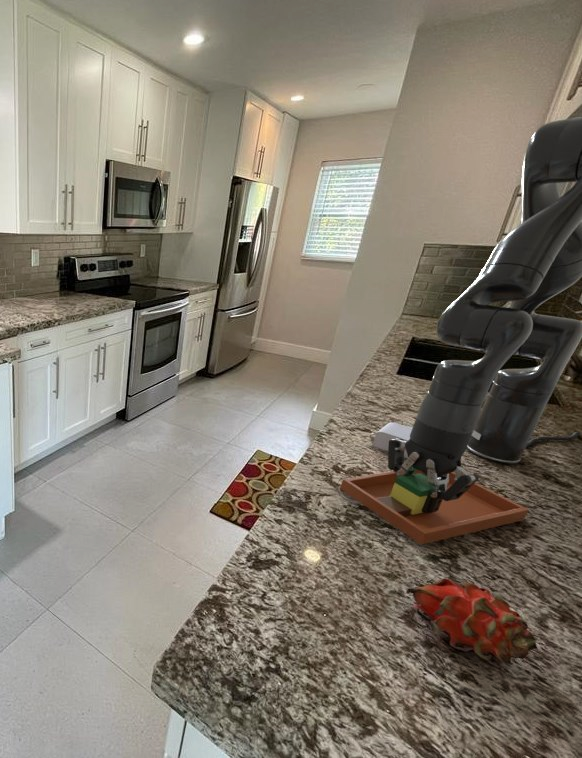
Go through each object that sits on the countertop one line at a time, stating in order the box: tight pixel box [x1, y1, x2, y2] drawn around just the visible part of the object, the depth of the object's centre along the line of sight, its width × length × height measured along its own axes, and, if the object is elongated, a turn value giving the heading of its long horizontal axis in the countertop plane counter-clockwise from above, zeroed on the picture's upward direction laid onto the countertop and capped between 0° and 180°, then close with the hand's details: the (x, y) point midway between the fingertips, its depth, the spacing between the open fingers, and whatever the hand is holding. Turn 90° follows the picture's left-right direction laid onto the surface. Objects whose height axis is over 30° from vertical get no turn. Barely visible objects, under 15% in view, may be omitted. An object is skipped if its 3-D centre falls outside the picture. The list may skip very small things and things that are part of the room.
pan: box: [339, 470, 530, 545], centre depth 78 cm, size 26×16×3 cm, turn 106°
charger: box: [371, 421, 413, 459], centre depth 99 cm, size 5×9×15 cm
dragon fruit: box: [405, 577, 538, 666], centre depth 51 cm, size 8×8×12 cm
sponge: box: [390, 473, 430, 515], centre depth 75 cm, size 6×4×5 cm
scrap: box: [378, 496, 412, 517], centre depth 75 cm, size 4×4×2 cm
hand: (412, 502), depth 76 cm, fingers closed on sponge, 4 cm apart
